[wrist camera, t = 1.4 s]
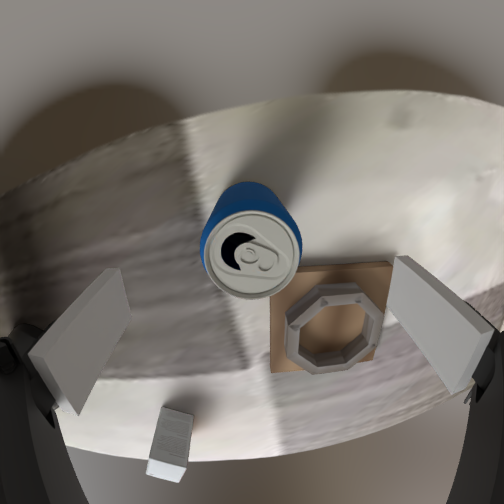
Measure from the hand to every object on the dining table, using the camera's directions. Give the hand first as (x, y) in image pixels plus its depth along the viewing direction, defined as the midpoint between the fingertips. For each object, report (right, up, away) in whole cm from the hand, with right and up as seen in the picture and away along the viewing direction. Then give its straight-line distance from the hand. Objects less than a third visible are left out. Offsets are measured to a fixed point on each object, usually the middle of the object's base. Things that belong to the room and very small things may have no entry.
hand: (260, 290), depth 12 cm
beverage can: (-1, +6, +15) cm, 16 cm away
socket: (+9, -6, +20) cm, 22 cm away
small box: (-13, -27, +27) cm, 40 cm away
